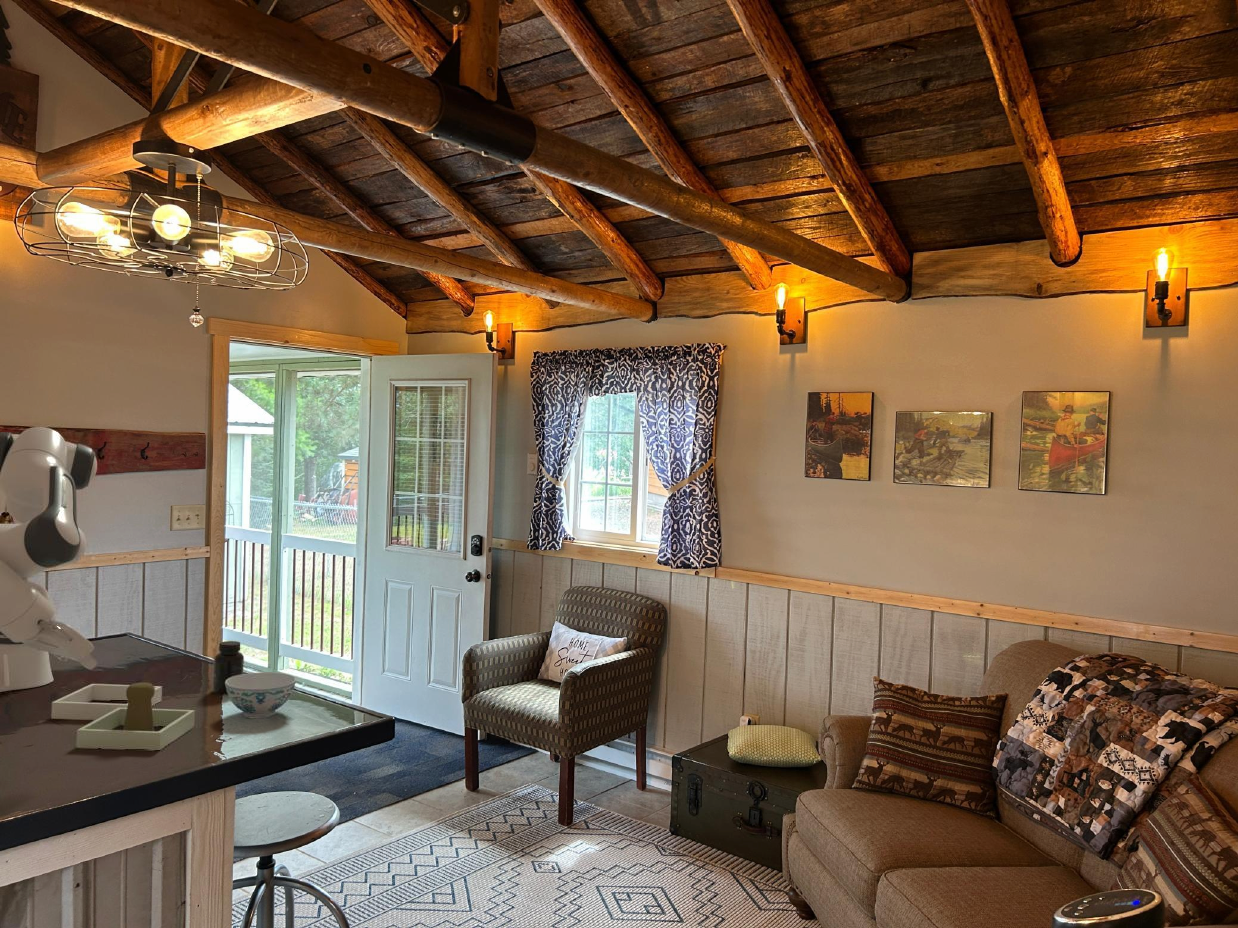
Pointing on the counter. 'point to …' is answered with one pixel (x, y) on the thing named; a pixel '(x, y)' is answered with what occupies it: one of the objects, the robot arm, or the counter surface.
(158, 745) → the sage bin
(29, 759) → the counter surface
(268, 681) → the chinaware
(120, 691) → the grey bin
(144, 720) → the cork
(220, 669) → the supplement bottle
